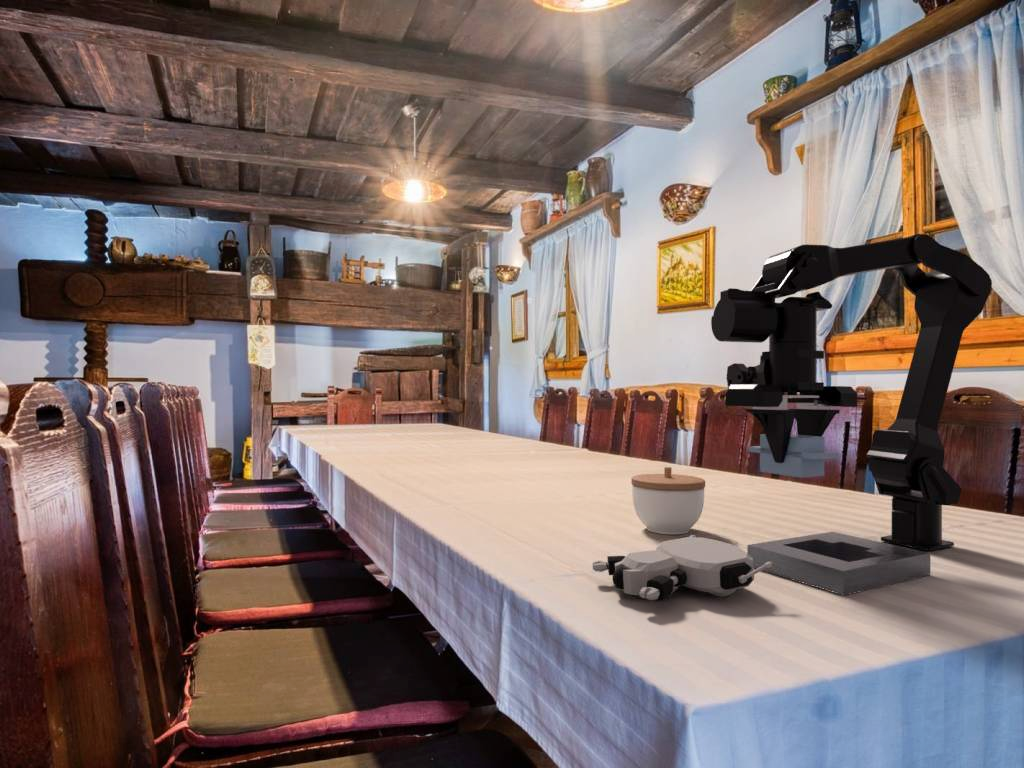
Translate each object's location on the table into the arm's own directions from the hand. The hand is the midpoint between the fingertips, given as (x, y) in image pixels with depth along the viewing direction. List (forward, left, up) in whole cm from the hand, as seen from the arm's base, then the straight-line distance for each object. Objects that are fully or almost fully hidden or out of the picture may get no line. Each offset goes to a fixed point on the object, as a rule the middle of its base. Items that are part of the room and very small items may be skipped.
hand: (791, 461), depth 81 cm
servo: (0, 0, -2) cm, 2 cm away
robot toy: (+25, +6, -12) cm, 29 cm away
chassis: (+3, +9, -11) cm, 15 cm away
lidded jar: (+6, -16, -12) cm, 21 cm away
